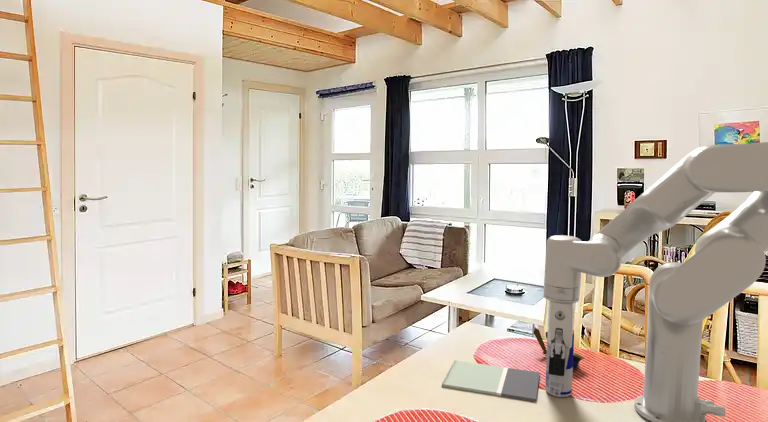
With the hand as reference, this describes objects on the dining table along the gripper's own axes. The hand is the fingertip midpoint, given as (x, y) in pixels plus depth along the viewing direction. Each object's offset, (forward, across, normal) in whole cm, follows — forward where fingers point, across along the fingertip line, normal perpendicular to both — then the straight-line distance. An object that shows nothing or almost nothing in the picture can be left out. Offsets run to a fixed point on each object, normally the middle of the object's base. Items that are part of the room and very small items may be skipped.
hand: (556, 365), depth 110 cm
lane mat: (+7, +1, +14) cm, 16 cm away
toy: (+7, +19, 0) cm, 20 cm away
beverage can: (+6, 0, -1) cm, 6 cm away
